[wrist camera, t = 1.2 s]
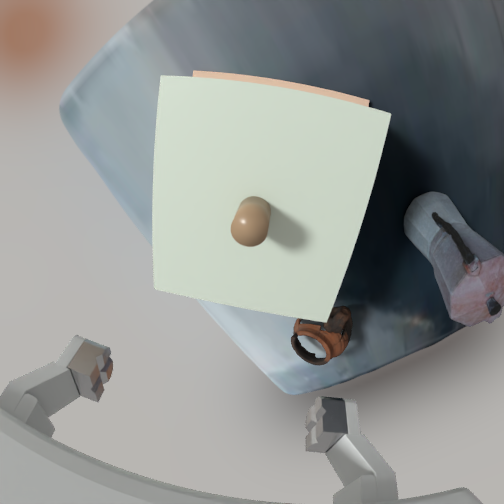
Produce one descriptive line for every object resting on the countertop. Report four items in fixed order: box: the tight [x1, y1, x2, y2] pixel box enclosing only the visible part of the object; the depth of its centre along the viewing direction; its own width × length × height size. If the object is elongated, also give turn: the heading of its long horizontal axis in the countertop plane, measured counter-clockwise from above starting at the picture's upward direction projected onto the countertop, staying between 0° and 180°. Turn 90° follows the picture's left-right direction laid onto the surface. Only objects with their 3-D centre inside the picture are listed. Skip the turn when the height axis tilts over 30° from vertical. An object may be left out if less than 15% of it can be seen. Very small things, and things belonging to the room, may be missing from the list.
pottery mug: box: [291, 306, 353, 365], centre depth 48 cm, size 12×9×8 cm
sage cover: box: [152, 76, 391, 323], centre depth 32 cm, size 20×23×17 cm
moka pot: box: [404, 192, 504, 326], centre depth 31 cm, size 10×15×20 cm, turn 50°
